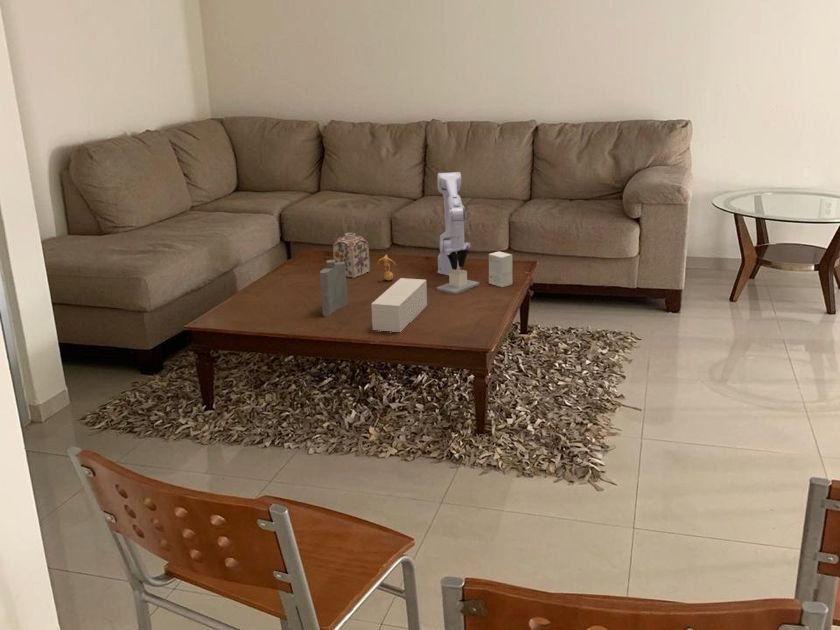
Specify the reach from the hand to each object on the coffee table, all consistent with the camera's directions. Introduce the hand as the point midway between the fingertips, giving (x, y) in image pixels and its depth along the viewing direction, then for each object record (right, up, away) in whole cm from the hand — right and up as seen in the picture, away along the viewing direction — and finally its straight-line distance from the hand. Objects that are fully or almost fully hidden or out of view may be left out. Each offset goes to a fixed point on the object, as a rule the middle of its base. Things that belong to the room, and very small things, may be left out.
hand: (457, 267), depth 367 cm
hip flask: (-49, -18, -19) cm, 56 cm away
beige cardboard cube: (0, -7, +2) cm, 7 cm away
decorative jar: (-46, -1, +27) cm, 53 cm away
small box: (+18, -7, +5) cm, 20 cm away
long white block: (-23, -21, -30) cm, 43 cm away
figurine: (-29, -5, +14) cm, 33 cm away
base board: (0, -8, +3) cm, 8 cm away
